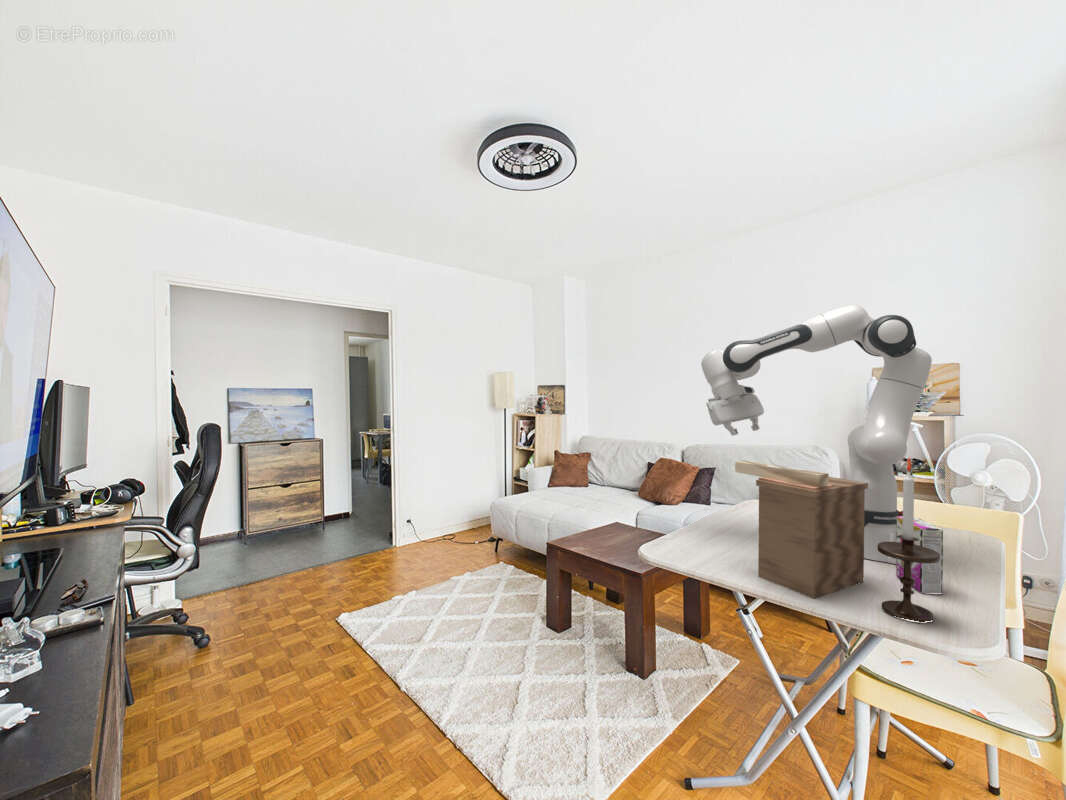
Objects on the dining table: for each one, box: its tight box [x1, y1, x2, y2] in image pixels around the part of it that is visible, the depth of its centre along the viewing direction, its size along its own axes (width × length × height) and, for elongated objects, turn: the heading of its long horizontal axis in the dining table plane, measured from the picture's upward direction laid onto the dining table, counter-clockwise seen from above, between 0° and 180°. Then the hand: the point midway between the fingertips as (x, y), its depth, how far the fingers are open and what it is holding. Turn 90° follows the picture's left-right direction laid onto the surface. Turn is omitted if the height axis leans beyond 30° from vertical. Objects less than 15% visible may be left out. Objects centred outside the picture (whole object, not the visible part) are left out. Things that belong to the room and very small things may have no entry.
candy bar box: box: [895, 516, 944, 594], centre depth 118 cm, size 11×5×16 cm, turn 168°
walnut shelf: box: [755, 476, 868, 600], centre depth 122 cm, size 22×16×26 cm
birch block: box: [734, 460, 830, 487], centre depth 124 cm, size 4×24×3 cm, turn 27°
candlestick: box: [878, 457, 940, 622], centre depth 103 cm, size 11×11×35 cm
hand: (746, 432), depth 154 cm, fingers open, 8 cm apart
